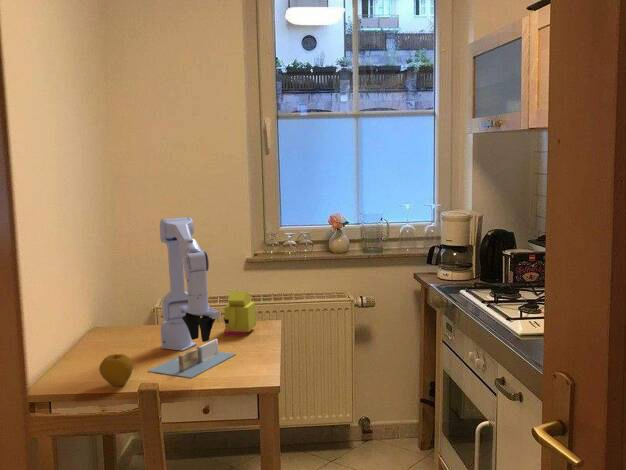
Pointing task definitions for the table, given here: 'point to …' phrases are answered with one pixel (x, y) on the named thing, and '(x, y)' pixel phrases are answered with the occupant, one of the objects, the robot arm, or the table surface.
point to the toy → (239, 314)
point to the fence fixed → (207, 350)
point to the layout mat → (193, 370)
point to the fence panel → (188, 359)
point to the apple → (116, 369)
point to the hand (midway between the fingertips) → (200, 339)
